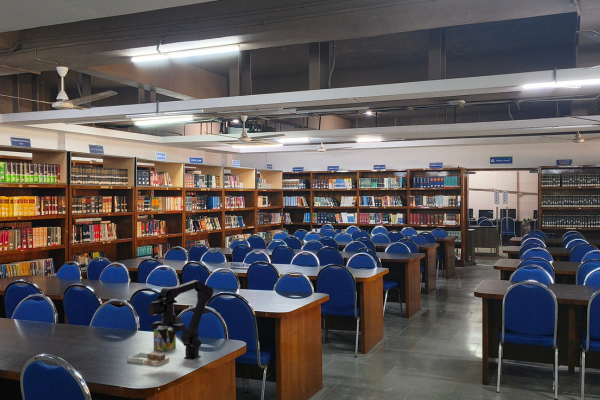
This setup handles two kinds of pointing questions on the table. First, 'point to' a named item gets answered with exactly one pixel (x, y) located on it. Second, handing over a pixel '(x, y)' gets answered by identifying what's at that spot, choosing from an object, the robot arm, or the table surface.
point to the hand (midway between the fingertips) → (168, 343)
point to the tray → (137, 358)
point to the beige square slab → (156, 361)
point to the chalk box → (160, 344)
